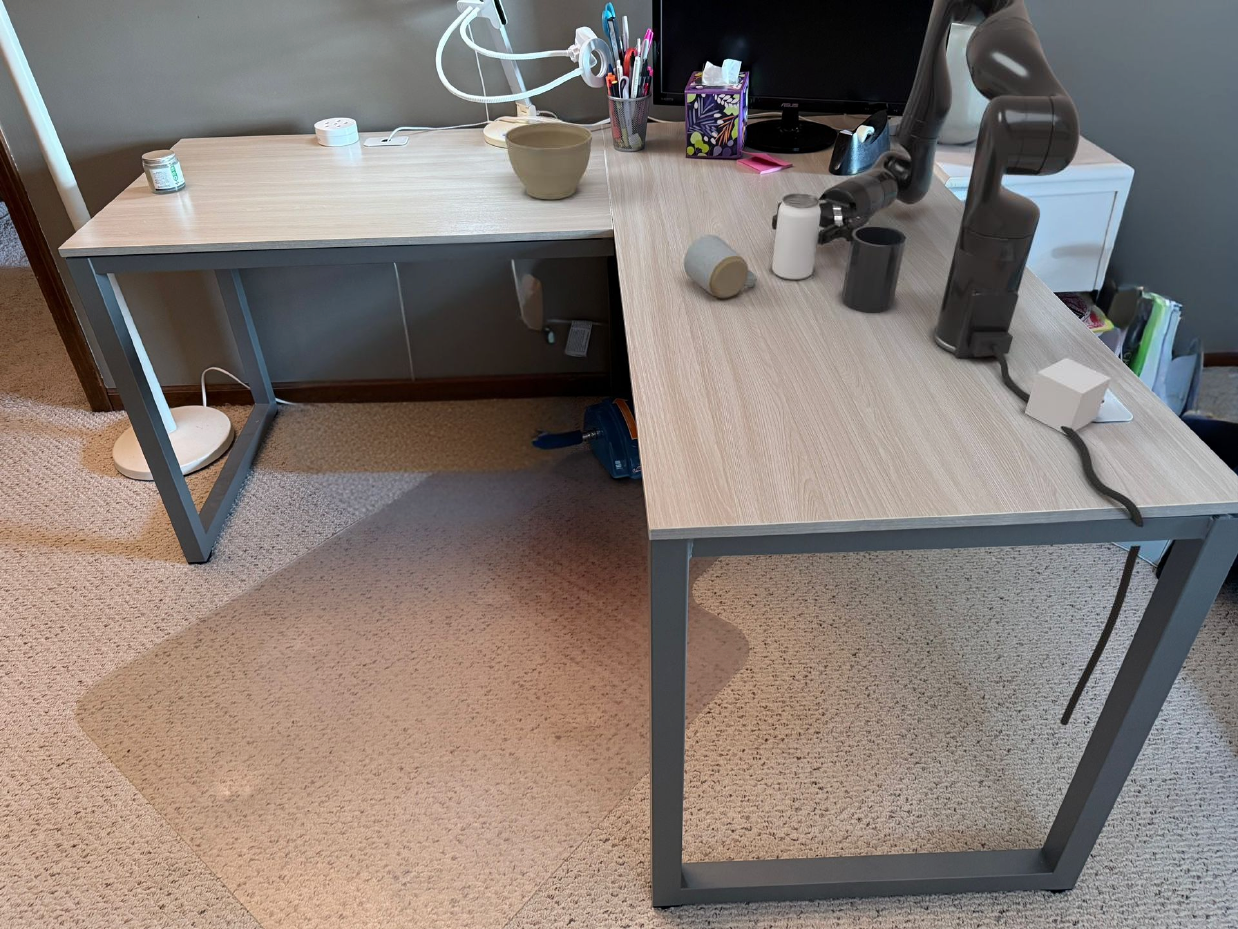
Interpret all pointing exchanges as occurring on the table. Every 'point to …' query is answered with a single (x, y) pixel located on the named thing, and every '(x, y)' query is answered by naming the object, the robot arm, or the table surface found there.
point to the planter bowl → (549, 157)
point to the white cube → (1067, 395)
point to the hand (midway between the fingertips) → (796, 231)
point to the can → (796, 236)
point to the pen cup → (873, 268)
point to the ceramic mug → (717, 267)
